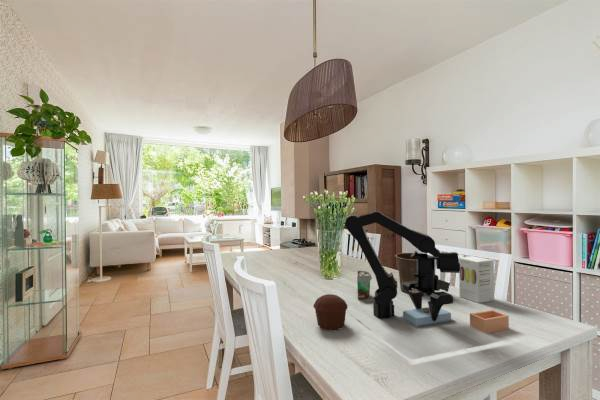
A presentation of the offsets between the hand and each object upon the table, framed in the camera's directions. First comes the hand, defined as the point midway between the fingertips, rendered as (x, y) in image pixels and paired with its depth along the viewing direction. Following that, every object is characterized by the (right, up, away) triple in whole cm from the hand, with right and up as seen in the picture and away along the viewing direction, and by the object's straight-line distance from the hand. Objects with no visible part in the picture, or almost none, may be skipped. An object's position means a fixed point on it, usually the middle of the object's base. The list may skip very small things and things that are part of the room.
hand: (426, 316), depth 104 cm
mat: (0, -2, 0) cm, 2 cm away
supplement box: (+31, -1, +23) cm, 38 cm away
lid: (0, -1, 0) cm, 1 cm away
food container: (-15, -2, +29) cm, 33 cm away
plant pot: (+9, -2, +35) cm, 36 cm away
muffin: (-33, -3, -1) cm, 33 cm away
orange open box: (+17, -2, -7) cm, 19 cm away
